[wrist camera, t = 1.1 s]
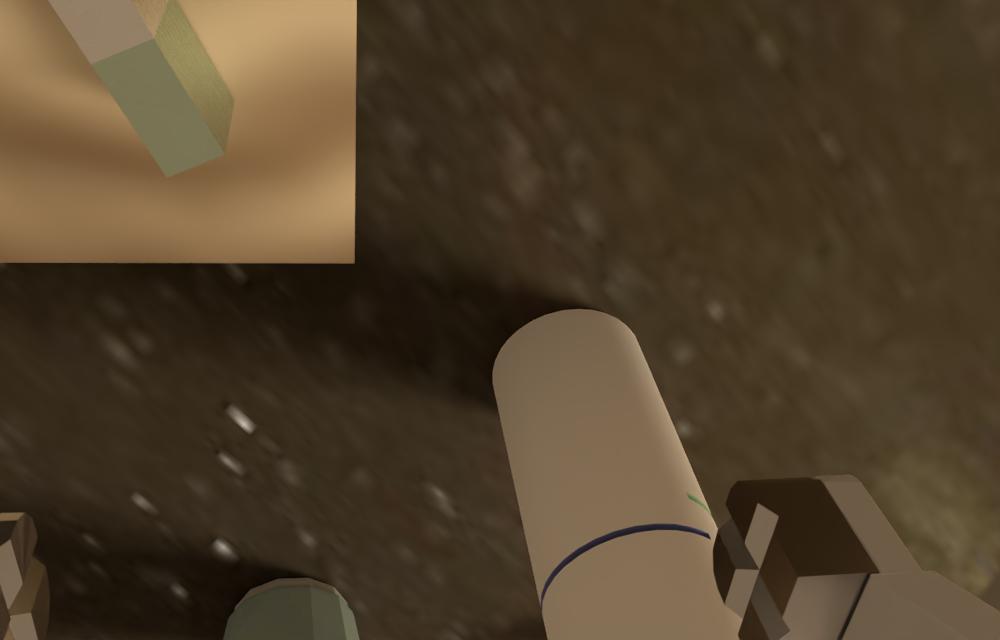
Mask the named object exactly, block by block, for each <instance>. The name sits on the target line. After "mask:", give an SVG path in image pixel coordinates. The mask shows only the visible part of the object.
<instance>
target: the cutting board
mask: <svg viewBox="0 0 1000 640" xmlns="http://www.w3.org/2000/svg"><path fill="white" fill-rule="evenodd" d="M176 1H177V2H178V4H179V6H180V7H181V9H182V11H183V13H184V14H185V16H186V18H187V20H188V21H189V23H190V25H191V26H192V28H193V30H194V32H195V33H196V35H197V37H198V39H199V40H200V42H201V44H202V45H203V47H204V49H205V51H206V52H207V54H208V56H209V58H210V59H211V61H212V63H213V64H214V66H215V68H216V70H217V71H218V73H219V75H220V77H221V78H222V80H223V82H224V83H225V85H226V87H227V89H228V90H229V92H230V94H231V96H232V97H233V99H234V101H235V102H234V108H233V113H232V119H231V124H230V130H229V135H228V141H227V146H226V151H225V155H223V156H221V157H218V158H215V159H213V160H210V161H208V162H205V163H203V164H200V165H198V166H195V167H193V168H190V169H188V170H185V171H183V172H180V173H178V174H175V175H173V176H170V177H168V178H167V177H166V176H165V174H164V173H163V171H162V170H161V168H160V167H159V165H158V164H157V162H156V161H155V159H154V158H153V156H152V155H151V153H150V152H149V150H148V149H147V147H146V146H145V144H144V143H143V141H142V140H141V138H140V137H139V135H138V134H137V132H136V131H135V129H134V128H133V126H132V125H131V123H130V122H129V121H128V119H127V118H126V116H125V115H124V113H123V112H122V110H121V109H120V107H119V106H118V104H117V103H116V101H115V100H114V98H113V97H112V95H111V94H110V92H109V91H108V89H107V88H106V86H105V85H104V83H103V82H102V80H101V79H100V77H99V76H98V74H97V73H96V71H95V70H94V68H93V67H92V65H91V64H90V62H89V61H88V59H87V58H86V56H85V55H84V53H83V52H82V50H81V49H80V47H79V46H78V44H77V43H76V41H75V40H74V38H73V37H72V35H71V34H70V32H69V31H68V29H67V28H66V26H65V25H64V23H63V22H62V20H61V19H60V17H59V16H58V14H57V13H56V11H55V10H54V8H53V7H52V5H51V4H50V2H49V1H48V0H0V263H355V142H356V20H357V0H176Z"/></svg>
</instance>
